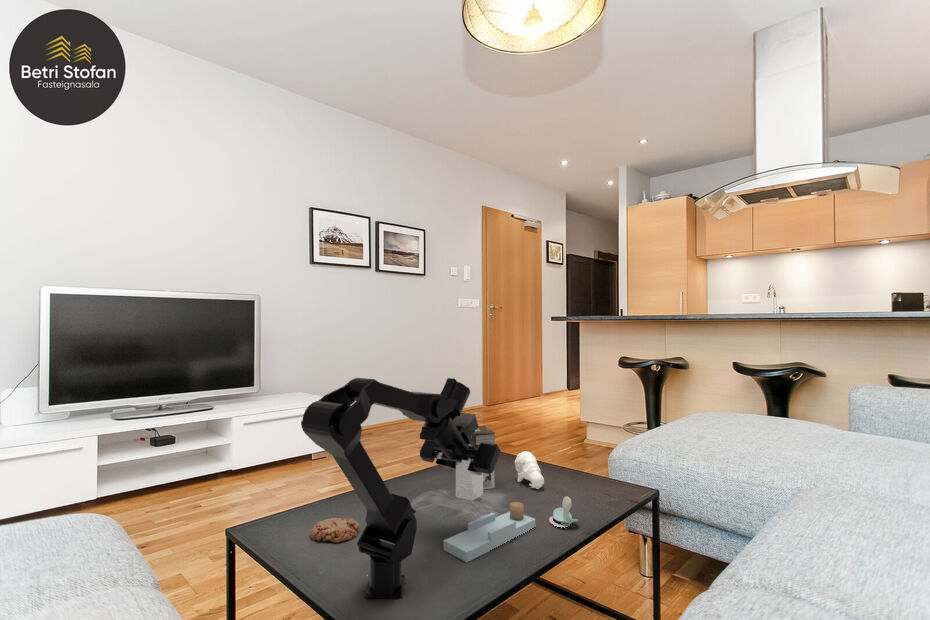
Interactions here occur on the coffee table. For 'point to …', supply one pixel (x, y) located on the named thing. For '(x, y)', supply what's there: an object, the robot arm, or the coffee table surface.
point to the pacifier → (563, 514)
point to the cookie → (335, 530)
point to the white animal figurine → (528, 469)
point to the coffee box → (478, 437)
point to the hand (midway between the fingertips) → (472, 471)
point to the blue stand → (489, 533)
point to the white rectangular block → (467, 482)
